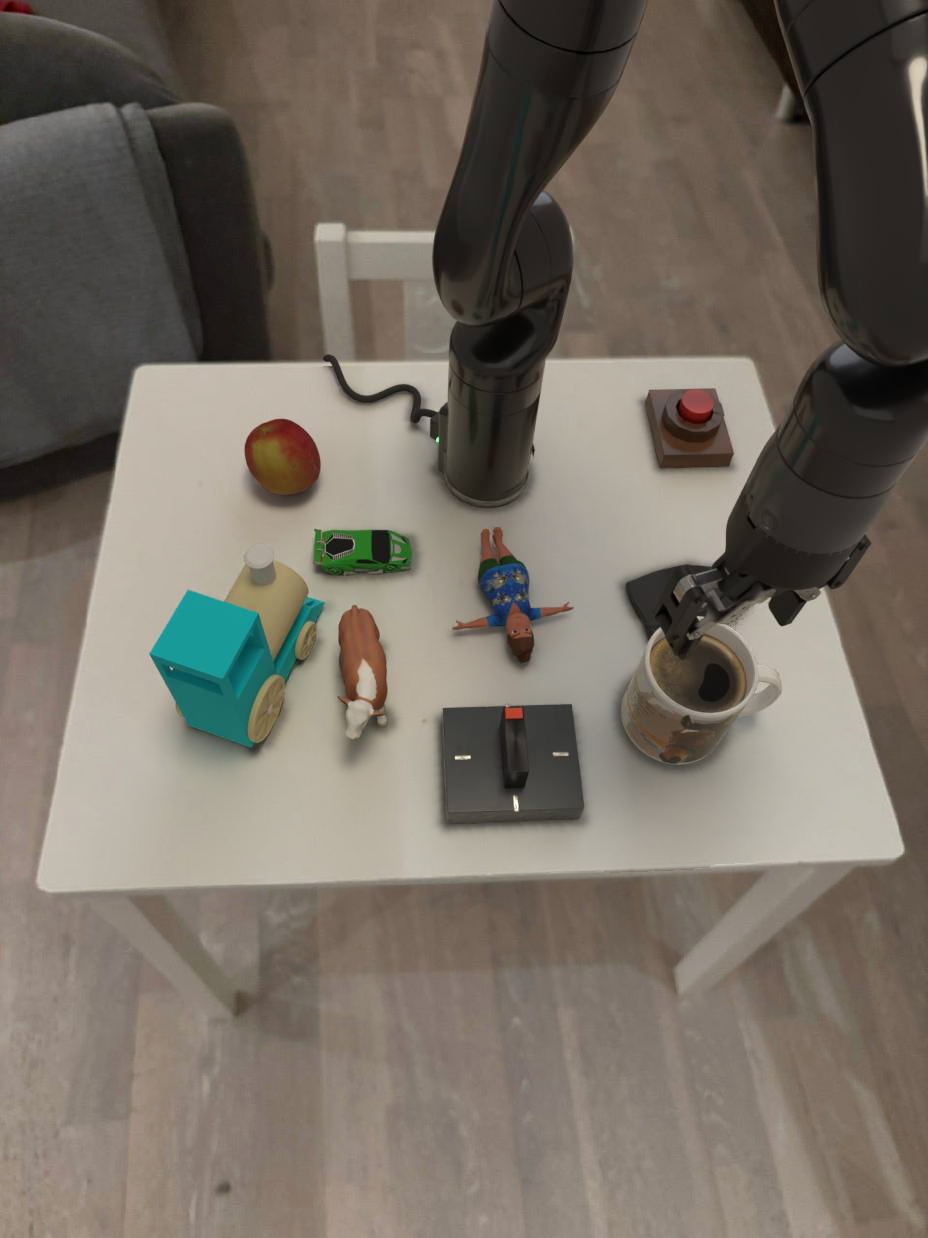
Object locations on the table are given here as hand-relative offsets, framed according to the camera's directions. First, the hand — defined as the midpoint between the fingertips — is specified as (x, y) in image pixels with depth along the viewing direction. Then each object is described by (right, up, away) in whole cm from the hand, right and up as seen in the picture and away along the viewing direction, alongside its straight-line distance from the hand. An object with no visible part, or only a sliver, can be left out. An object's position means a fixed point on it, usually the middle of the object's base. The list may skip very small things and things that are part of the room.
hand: (728, 632), depth 68 cm
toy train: (-40, -4, +20) cm, 45 cm away
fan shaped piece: (+3, +2, +26) cm, 26 cm away
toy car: (-30, +7, +27) cm, 41 cm away
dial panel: (-16, -13, +16) cm, 26 cm away
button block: (+6, +23, +37) cm, 44 cm away
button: (+6, +24, +34) cm, 43 cm away
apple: (-39, +16, +32) cm, 53 cm away
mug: (+1, -9, +19) cm, 21 cm away
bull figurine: (-29, -7, +19) cm, 35 cm away
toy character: (-16, +2, +25) cm, 29 cm away
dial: (-16, -11, +13) cm, 23 cm away
